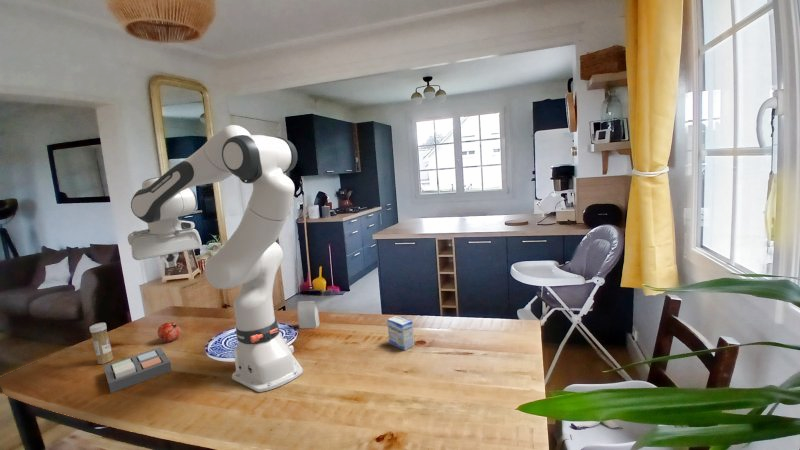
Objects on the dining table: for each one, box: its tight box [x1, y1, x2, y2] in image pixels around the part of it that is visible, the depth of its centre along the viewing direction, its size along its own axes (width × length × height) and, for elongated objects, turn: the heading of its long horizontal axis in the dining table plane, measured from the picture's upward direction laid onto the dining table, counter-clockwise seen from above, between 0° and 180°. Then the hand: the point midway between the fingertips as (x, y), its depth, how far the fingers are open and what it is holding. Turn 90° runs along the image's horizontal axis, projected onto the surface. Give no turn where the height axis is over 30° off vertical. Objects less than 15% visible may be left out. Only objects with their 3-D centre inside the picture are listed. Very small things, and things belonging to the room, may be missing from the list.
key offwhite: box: [113, 362, 136, 379], centre depth 120 cm, size 5×5×2 cm
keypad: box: [103, 347, 173, 394], centre depth 125 cm, size 16×16×3 cm
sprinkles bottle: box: [89, 322, 114, 365], centre depth 134 cm, size 5×5×14 cm
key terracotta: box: [141, 357, 162, 370], centre depth 124 cm, size 5×5×2 cm
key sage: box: [112, 359, 132, 371], centre depth 125 cm, size 5×5×2 cm
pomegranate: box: [157, 322, 181, 343], centre depth 148 cm, size 7×7×10 cm
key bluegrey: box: [137, 351, 158, 362], centre depth 130 cm, size 5×5×2 cm
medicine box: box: [386, 315, 415, 351], centre depth 127 cm, size 8×4×9 cm, turn 42°
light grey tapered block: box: [297, 300, 320, 330], centre depth 149 cm, size 4×7×10 cm, turn 83°
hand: (171, 266), depth 131 cm, fingers closed
